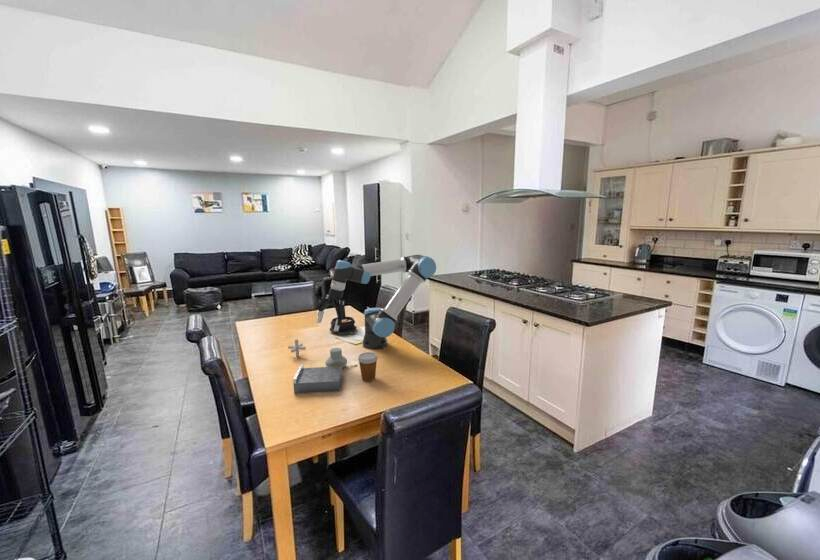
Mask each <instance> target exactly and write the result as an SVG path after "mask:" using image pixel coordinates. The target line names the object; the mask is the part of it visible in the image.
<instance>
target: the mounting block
mask: <svg viewBox="0 0 820 560" xmlns="http://www.w3.org/2000/svg"><path fill="white" fill-rule="evenodd" d="M342 380H343V368H342V366H336V367H327V366H320V367H318V366H317V367H315V366H314V367H304V363H303V364H301V363H300V365H299V367H298V368H297V371H296V372H295V375H294V376H293V379H292V382H293V393H294V395H295V394H296V395H297V394H298V393H299V394H300V395H301V394H313V393H314V394H315V393H318V392H319V393H334V392H335V391H337V392H340V391H339V390H340V389H341V385H342ZM335 393H336V392H335Z"/></svg>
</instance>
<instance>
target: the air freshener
mask: <svg viewBox="0 0 820 560" xmlns="http://www.w3.org/2000/svg"><path fill="white" fill-rule="evenodd" d="M329 352H330V353H329V354H330V356H329V357H327V359H326V361H325V365H326V366H325V367H336V366H342V369H343V368H345V367H346V365H347V363H348V361H347V360H348V359H347V357H345V356H344V355H343V353H342V348H340V347H333V348H330V349H329Z"/></svg>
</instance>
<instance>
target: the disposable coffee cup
mask: <svg viewBox="0 0 820 560" xmlns="http://www.w3.org/2000/svg"><path fill="white" fill-rule="evenodd" d="M378 359H379V357H378V355H377V353H375V352H363V353H360V354H359V355H358V358H357V360H358V362H359V369H360V370H359V371H360V374H361V380H362V381H363V382H365V383H370V382H373V381H374V380H376V374H377V373H376V372H377V361H378Z"/></svg>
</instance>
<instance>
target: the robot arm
mask: <svg viewBox="0 0 820 560" xmlns="http://www.w3.org/2000/svg"><path fill="white" fill-rule="evenodd" d="M436 264H437V263H436V262H435V259H433V258H432V257H430V256H427V255H423V254H411V255H408V256H407V255H406V256H402V257H401V256H400V259H392V260H385V261H379V262H378V261H377V262H371V263H363V264H357V265H354V264H351V262H349V261H345V260H341V259H338V260H337V261H336V263H335V267H334V271H333V276H332V279H331V283H330V288H329V291H328V294H327V293H326V294H324V296H323V298H322V299H321V300H320V302H319V304H318V305H317V306H316V310H318V313H317V320H316V323H317V324H322V321H323V318H324V315H325V314H324V313H325V311H326V309H327V308H328V307H329V306H332V307H334V309H335V311H336V318H337V317H338V319H337V320H336V324H335V328H334V331H338V330H339V326H340V325H341V322H342V320H345V319H346V317H347V316H346V308H345V307H346V306H345V305H346V304H345V303H346V301H345V300H342V298H343V295H344V290H345V289H346V283H347V281H351V282H354V283H359V284H364V285H366V284H367V285H368V283H369V282H370V280H371V277H373V276H380V275H387V274H393V273H399V272H400V273H404V274H405V273H408V275H407V276H406V278H405V279H404V281H403V282H402V283H401V284H400V286H399V287H398V289H397V291H395V293H394V295H393V296H391V298H390V300H389V301H388V303H387V304H386V306H385V307H384V308H383V307H369V308H366V309H364V314H363V315H364V336H363V338H362V339H363V340H362V346H363V347H364V348H366V349H369V350H371V349H372V350H376V349H377V350H378V349H383V348H384V347H387V345H388V340H387V338H388V337H390V336H391V335H392V334H393V333H394V331H395V327H396V323H397V322H398V316H399V315H400V313H401V312H402V310H403V309H404V307H405V306H406V304H407V303H408V301H410V299H411V297H412V296H413V295H414V293H415V292H416V291H417V289H418V288H419V286H420V285H421V283H425V282H426V281H427V279H428V278H431V277H433V276H434V275H435V273H436V272H437V265H436Z"/></svg>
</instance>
